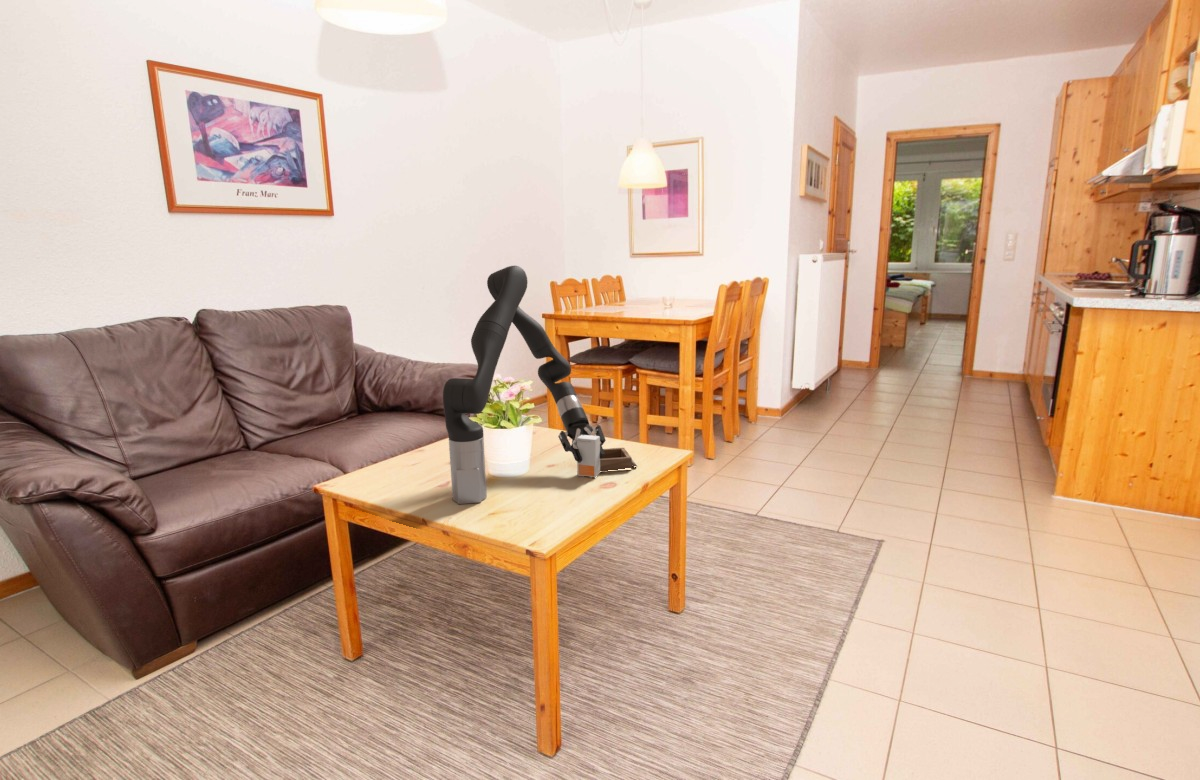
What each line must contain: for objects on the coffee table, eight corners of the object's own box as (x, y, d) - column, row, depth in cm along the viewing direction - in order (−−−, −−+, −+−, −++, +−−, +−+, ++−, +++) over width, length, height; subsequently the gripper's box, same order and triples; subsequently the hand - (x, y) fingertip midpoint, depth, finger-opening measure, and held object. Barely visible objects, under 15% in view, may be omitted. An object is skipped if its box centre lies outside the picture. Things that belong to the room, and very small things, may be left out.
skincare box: (577, 476, 189) (576, 437, 186) (582, 471, 193) (581, 434, 190) (596, 478, 187) (595, 439, 184) (600, 473, 191) (600, 435, 188)
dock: (638, 469, 194) (638, 457, 193) (596, 472, 192) (596, 460, 191) (630, 458, 204) (630, 447, 204) (590, 461, 202) (590, 449, 201)
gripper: (554, 409, 189) (573, 457, 181) (596, 403, 196) (616, 449, 188) (547, 422, 194) (566, 469, 187) (588, 416, 201) (607, 461, 194)
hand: (591, 459), depth 187 cm, fingers closed on skincare box, 7 cm apart
